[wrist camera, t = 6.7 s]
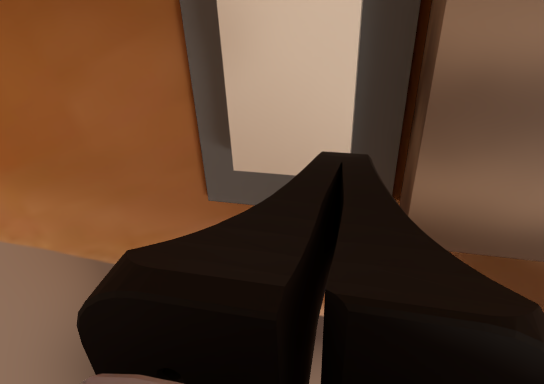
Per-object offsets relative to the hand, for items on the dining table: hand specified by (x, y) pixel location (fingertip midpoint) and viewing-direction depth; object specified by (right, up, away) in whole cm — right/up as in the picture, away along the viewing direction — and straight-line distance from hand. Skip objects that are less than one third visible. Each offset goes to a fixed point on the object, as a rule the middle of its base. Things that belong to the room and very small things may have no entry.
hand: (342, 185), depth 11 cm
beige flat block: (-1, +4, +7) cm, 9 cm away
